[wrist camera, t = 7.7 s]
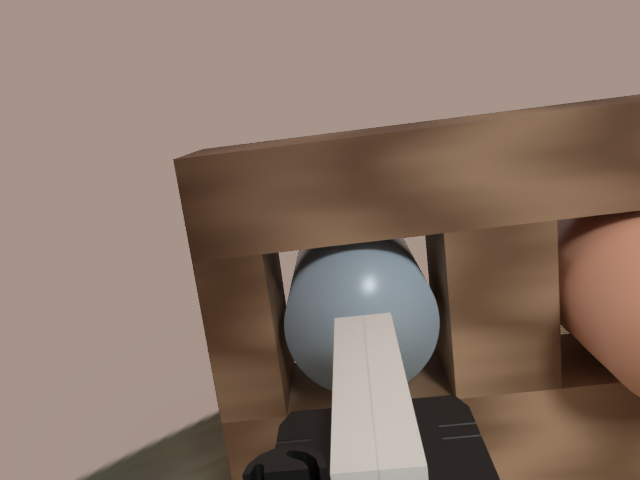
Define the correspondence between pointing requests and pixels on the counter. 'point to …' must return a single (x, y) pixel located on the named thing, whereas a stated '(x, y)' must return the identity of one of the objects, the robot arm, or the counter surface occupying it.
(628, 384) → the terracotta long rounded piece
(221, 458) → the counter surface
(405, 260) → the slate button
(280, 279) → the brown wooden rectangular frame
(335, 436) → the robot arm
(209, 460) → the counter surface
